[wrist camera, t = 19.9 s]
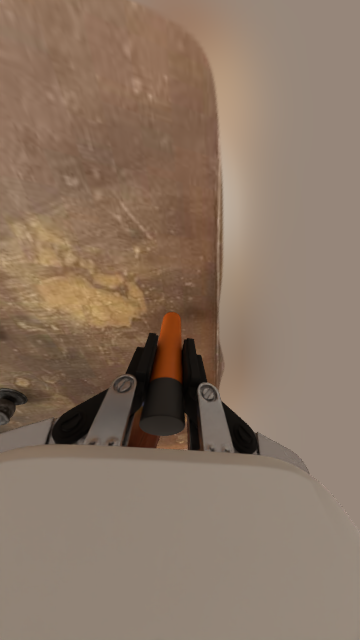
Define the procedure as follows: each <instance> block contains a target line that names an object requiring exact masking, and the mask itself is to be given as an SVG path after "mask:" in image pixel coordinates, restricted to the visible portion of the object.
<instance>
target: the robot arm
mask: <svg viewBox="0 0 360 640" xmlns="http://www.w3.org/2000/svg"><path fill="white" fill-rule="evenodd" d="M157 343H158V336H157V335H156V334H155V333H149V336H148V339H147V342H146V345H145V347H144V348H143V347H137V349H136V351H135V353H134V355H133V358H132V360H131V362H130V365H129V367H128V369H127V372H126V374H122V375H120V376H118V377H116V378H115V379H114V380H113V382H112V383H111V385H110V387H109V388H108V389H107V390H105V391H103V392H101V393H99V394H98V395H96V396H94V397H92V398H90V399H89V400H87V401H85V402H83V403H81V404H80V405H78V406H76V407H74V408H72V409H71V410H69V411H67V412H66V413H64V414H63V415H62V416H61V417H59V418H56V419H54V417H52V418H49V419H46V420H42V421H39V422H36V423H32V424H29V425H26V426H22V427H19V428H16V429H12V430H9V431H6V432H3V433H0V640H360V531H359V530H358V528H357V527H356V526H355V524H354V523H353V521H352V520H351V518H350V517H349V516H348V514H347V513H346V512H345V510H344V509H343V508H342V506H341V505H340V504H339V502H338V501H337V500H336V499H335V497H334V496H333V495H332V494H331V493H330V492H329V491H328V490H327V488H325V487H324V486H323V485H322V484H321V483H320V482H319V481H317V480H316V479H315V478H314V477H312V476H311V475H310V474H309V471H308V469H307V467H306V465H305V464H304V463H303V461H302V459H301V458H299V456H298V455H297V454H295V453H294V452H293V451H291V450H289V449H288V448H286V447H284V446H282V445H280V444H278V443H277V442H275V441H273V440H271V439H269V438H267V437H266V436H264V435H262V434H260V433H258V432H257V433H254V432H253V430H252V429H251V428H250V427H249V425H247V423H245V422H244V421H243V420H242V419H241V418H240V417H238V415H236V414H235V413H234V412H233V411H232V410H231V409H230V408H229V407H228V406H226V405H225V404H224V403H223V402H222V401H221V398H220V394H219V392H218V390H217V389H216V387H215V386H213V385H212V384H210V383H207V379H206V374H205V370H204V366H203V361H202V357H201V355H196V349H195V344H194V339H190V338H187V340H184V344H183V348H182V378H183V388H184V412H185V413H186V414H187V433H188V450H175V449H157V448H139V447H128V443H129V439H130V434H131V430H132V426H133V421H134V417H135V412H137V411H138V410H139V409H140V408H141V406H143V402H144V400H145V396H146V391H147V388H148V384H149V382H150V377H151V373H152V368H153V363H154V359H155V354H156V350H157Z"/></svg>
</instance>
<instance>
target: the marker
mask: <svg viewBox="0 0 360 640" xmlns="http://www.w3.org/2000/svg"><path fill="white" fill-rule="evenodd" d="M139 426H140V428H141V429H142V430H143V431H144V432H146V433H149V434H152V435H157V436H168V435H174V434H177V433H179V432H181V431H182V430H183V429H184V427H185V414H184V388H183V378H182V344H181V318H180V316H179V315H178V314H177V313H175V312H169V313H167V314H166V315H165V316H164V318H163V323H162V327H161V332H160V336H159V341H158V345H157V350H156V354H155V359H154V363H153V368H152V373H151V377H150V382H149V384H148V388H147V391H146V396H145V400H144V405H143V409H142V413H141V418H140V422H139Z"/></svg>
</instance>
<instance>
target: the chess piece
mask: <svg viewBox="0 0 360 640" xmlns="http://www.w3.org/2000/svg"><path fill="white" fill-rule="evenodd" d="M26 402H27V398H26V396H24V395H23V394H22V393H20V392H18V391H15V390H12V389H5V388H3V389H0V425H4V424H7V423H8V422H9V421H10V418H11V417H12V416H13V414H14V412H15V409H16V406H15V405H21V404H25V403H26Z"/></svg>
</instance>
